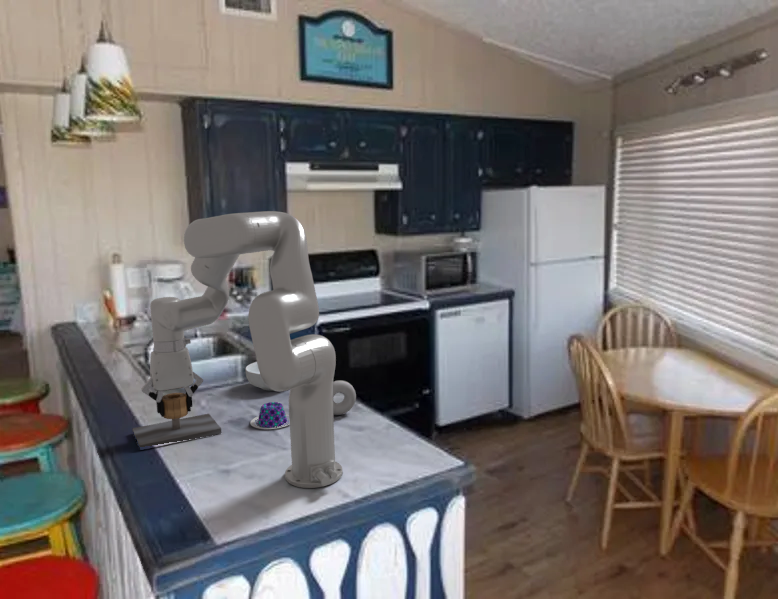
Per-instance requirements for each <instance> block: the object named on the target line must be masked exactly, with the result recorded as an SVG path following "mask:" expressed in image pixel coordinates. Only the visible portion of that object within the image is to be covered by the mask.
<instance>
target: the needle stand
mask: <svg viewBox="0 0 778 599" xmlns="http://www.w3.org/2000/svg"><path fill="white" fill-rule="evenodd" d="M133 432H134V435H135V437H136V439H137V441H138V444H139V446H140V447H145V446H152V445H158V444H164V443H169V442H177V441H183V440H189V439H194V440H196V439H195V438H199V439H201V438H200V437H204V438H207V437H206V436H209V437H213V436H217V435H216V434H218V435H221V433H223V432H222V427H221V426H220V425H219V424H218V422H217V421H216V420H215V419H214V418H213V416H211V414H210V413H205V414H199V415H194V416H190V417H185V418H183V417H182V418H177V419H171V420H168V421H162V422H159V423H157V422H156V423H154V424H149V425H144V426H137V427H132V433H133ZM134 435H133V436H134ZM212 435H213V436H212ZM138 444H137V445H138Z"/></svg>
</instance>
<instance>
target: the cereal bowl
mask: <svg viewBox="0 0 778 599" xmlns="http://www.w3.org/2000/svg"><path fill="white" fill-rule="evenodd" d="M245 376H246V380H247V381H248V382H249V383H250V384H251V385H252V386H254V387H256V388H260V389H262V390H263V391H273V390H272V389H270V388H269V387H268V386H267V385H266V384H265V383H264V381H263V379H262V377H261V375H260V372H259V368H258V364H257V361H255V362H252V363H250V364H248V365H247V366H246V367H245Z"/></svg>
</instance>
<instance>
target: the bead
mask: <svg viewBox="0 0 778 599" xmlns="http://www.w3.org/2000/svg"><path fill="white" fill-rule="evenodd" d="M186 397H187V396H186V392H172V393H167V394H165V395H164V394H163V396H162V401H163V402H164V413H165V416H164V417H163V418H164V419H166V420H172V419H177V418H180V419H183V417H186V416H188V414H189V412H188V411H187V399H186Z"/></svg>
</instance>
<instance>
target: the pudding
mask: <svg viewBox="0 0 778 599" xmlns="http://www.w3.org/2000/svg"><path fill="white" fill-rule="evenodd" d="M286 416H289V413H286V411H285V408H284V405H283V404H282V403H280V402H278V401H274V402H272V401H270V402H266V403H264V404H262V406H261V407H260V409H259V413H258V416H256V417H254V418H253V419H251V420H250V426H252V427H253V428H255V429H260V430H276V429H280V428H284V427H288V426H290V424H288V425H285V424H284V423H286V422H287V423H288V419H287V417H286ZM257 419H258V422H257V425H258V424H259V425H258V426H256V425H255V424H254V423H255V420H257ZM287 423H286V424H287ZM281 425H283V426H282V427H281ZM284 425H285V426H284ZM260 426H261V427H260ZM275 426H276V427H277V426H278V427H277V428H276V427H275ZM279 426H280V427H279ZM272 427H274V428H272Z"/></svg>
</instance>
